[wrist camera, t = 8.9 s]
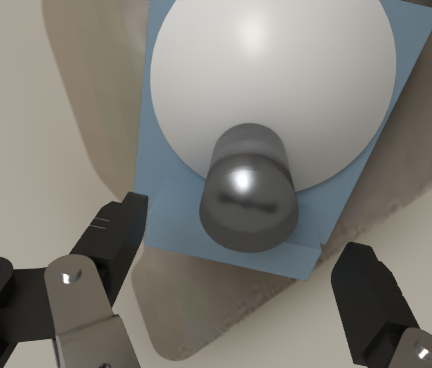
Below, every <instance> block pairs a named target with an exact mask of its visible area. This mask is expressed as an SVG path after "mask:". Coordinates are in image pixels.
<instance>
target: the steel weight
mask: <svg viewBox="0 0 432 368" xmlns="http://www.w3.org/2000/svg"><path fill="white" fill-rule="evenodd" d="M199 216H200V221H201V224H202V226H203V228H204V230H205V231H206V233H207V234H208V235H209V236H210V238H211V239H213V240H214V241H215V242H216V243H218V244H219V245H221V246H223V247H225V248H227V249H230V250H233V251H236V252H242V253H257V252H263V251H267V250H270V249H273V248H275V247H277V246H278V245H280V244H282V243H283V242H284V241H285V240H287V239H288V238H289V237H290V235H291V234H292V233H293V231H294V230H295V228H296V226H297V222H298V218H299V207H298V202H297V198H296V193H295V189H294V185H293V181H292V176H291V172H290V168H289V163H288V159H287V155H286V150H285V147H284V144H283V142H282V140H281V139H280V137H279V136H278V135H277V134H276V133H275V132H274V131H273V130H271V129H270V128H268V127H266V126H264V125H260V124H255V123H243V124H239V125H236V126H233V127H231V128H230V129H228V130H227V131H225V132H224V133H223V134H222V135H221V136H220V137H219V139H218V140H217V142H216V144H215V147H214V150H213V154H212V158H211V162H210V166H209V170H208V174H207V178H206V182H205V186H204V190H203V194H202V198H201V202H200V207H199Z"/></svg>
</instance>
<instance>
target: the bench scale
mask: <svg viewBox="0 0 432 368" xmlns="http://www.w3.org/2000/svg"><path fill="white" fill-rule="evenodd" d="M431 30H432V8H430V7H426V6H422V5H417V4H413V3H409V2H405V1H401V0H150V7H149V19H148V31H147V43H146V55H145V67H144V79H143V90H142V102H141V114H140V126H139V138H138V150H137V162H136V174H135V186H134V193H138V194H143V195H147V196H148V198H149V199H148V206H151V208H150V210H149V212H148V220H147V229H146V238H145V246H149V247H154V248H158V249H163V250H167V251H172V252H176V253H181V254H186V255H190V256H195V257H199V258H204V259H208V260H213V261H218V262H222V263H227V264H231V265H236V266H240V267H245V268H249V269H254V270H259V271H263V272H268V273H272V274H277V275H281V276H286V277H290V278H295V279H300V280H304V281H307V280H308V278H309V276H310V274H311V272H312V270H313V268H314V266H315V264H316V262H317V260H318V258H319V256H320V254H321V252H322V249H321V245H320V244H324V245H326V243H327V241H328V239H329V237H330V235H331V233H332V231H333V229H334V227H335V225H336V223H337V221H338V219H339V217H340V215H341V213H342V211H343V209H344V207H345V204H346V202H347V200H348V198H349V196H350V194H351V192H352V190H353V188H354V186H355V184H356V182H357V180H358V178H359V176H360V174H361V172H362V170H363V168H364V166H365V164H366V162H367V160H368V158H369V156H370V154H371V152H372V150H373V148H374V146H375V144H376V142H377V140H378V138H379V136H380V134H381V132H382V129H383V127H384V125H385V123H386V121H387V119H388V117H389V115H390V113H391V111H392V109H393V107H394V105H395V103H396V101H397V99H398V97H399V95H400V93H401V91H402V89H403V87H404V85H405V83H406V81H407V79H408V77H409V75H410V73H411V71H412V69H413V67H414V65H415V63H416V61H417V59H418V57H419V55H420V52H421V50H422V48H423V46H424V44H425V42H426V40H427V38H428V36H429V34H430V32H431ZM243 123H255V124H260V125H264V126H266V127H268V128H270V129H271V130H273V131H274V132H275V133H276V134H277V135H278V136H279V137H280V139H281V140H282V142H283V144H284V147H285V150H286V155H287V159H288V163H289V168H290V172H291V176H292V181H293V185H294V189H295V193H296V198H297V202H298V207H299V218H298V222H297V226H296V228H295V230H294V231H293V233H292V234H291V235H290V237H289V238H288V239H287V240H285V241H284V242H283V243H282V244H280V245H278V246H277V247H275V248H273V249H270V250H267V251H263V252H257V253H242V252H236V251H233V250H230V249H227V248H225V247H223V246H221V245H219V244H218V243H216V242H215V241H214V240H213V239H211V238H210V236H209V235H208V234H207V233H206V231H205V230H204V228H203V226H202V224H201V221H200V216H199V207H200V202H201V198H202V194H203V190H204V186H205V182H206V178H207V174H208V170H209V166H210V162H211V158H212V154H213V150H214V147H215V144H216V142H217V140H218V139H219V137H220V136H221V135H222V134H223V133H224V132H225V131H227V130H228V129H230V128H231V127H233V126H236V125H239V124H243Z"/></svg>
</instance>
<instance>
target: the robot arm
mask: <svg viewBox="0 0 432 368" xmlns="http://www.w3.org/2000/svg"><path fill="white" fill-rule="evenodd" d="M148 199H149V198H148V196H147V195H143V194H138V193H134V192H128V194H127V195H126V197H125V198H124V200H123V202H122V203H119V202H114V201H112V202H110V203H108V204H107V205H105V206H103V207H102V208H101V209H100V211H99V212H98V213H97V215H96V216H95V219H93V221H92V222H91V224H90V226H88V228H87V229H86V231H85V232H84V233H83V235H82V236H81V238H80V239H79V241H78V242H77V244H76V245H75V246H74V248H73V249H72V251H71V252H70V254H69V255H66V256H62V257H60V258H57V259H56V260H54V261H53V262H51V263H50V264H49V265H48V267H45V268H37V269H13V265H12V263H11V262H10V261H9V260H7V259H5V258H3V257H0V368H3V367H4V366H5V364H6V362H7V360H8V359H9V357H10V355H11V354H12V352H13V350H14V348H15V347H16V345H17V344H18V342H25V341H35V340H44V339H52V345H53V350H54V355H55V360H56V365H57V368H141V367H140V365H139V362H138V360H137V357H136V354H135V352H134V349H133V347H132V344H131V341H130V339H129V336H128V334H127V331H126V329H125V326H124V323H123V321H122V319H121V317H120V316H119V315H118V314H116V315H114V313H113V311H112V307H113V304H114V302H115V300H116V298H117V295H118V293H119V291H120V289H121V286H122V284H123V282H124V280H125V277H126V275H127V273H128V271H129V268H130V266H131V264H132V261H133V259H134V257H135V255H136V252H137V250H138V248H139V246H140V244H141V241H142V238H143V235H144V231H145V226H146V217H147V208H148ZM331 284H332V288H333V292H334V295H335V299H336V303H337V306H338V310H339V313H340V317H341V321H342V324H343V327H344V331H345V335H346V338H347V342H348V345H349V349H350V353H351V356H352V359H353V363H354V364H357V365H362V366H367V367H368V368H432V335H431V334H429V333H427V332H426V331H424V330H421V329H420V327H419V325H418V323H417V321H416V319H415V317H414V316H413V313H412V311H411V309H410V307H409V306H408V304H407V302H406V300H405V298H404V297H403V296H402V292H401V290H400V288H399V287H398V286H397V285H398V284H397V282H396V280H395V278H394V276H393V274H392V272H391V271H390V270H389V269H388V268H387V267H386V266H385V265H384V264H383V263H382V262H381V261H378V259H377V257H376V255H375V253H374V251H373V249H372V247H371V246H368V245H364V244H359V243H355V242H349V243H348V244H347V245H346V246H345V248H344V250H343V252H342V254H341V255H340V257H339V259H338V261H337V262H336V264H335V266H334V268H333V271H332V274H331Z"/></svg>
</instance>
